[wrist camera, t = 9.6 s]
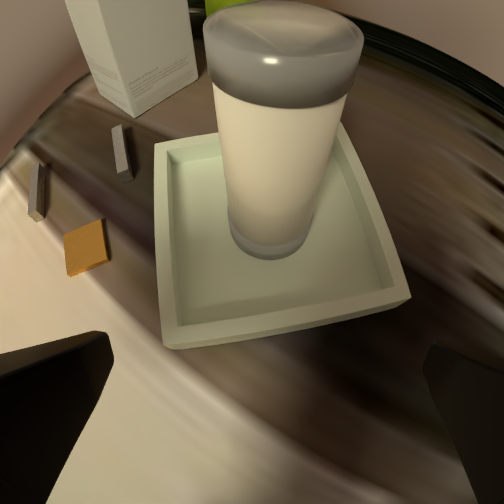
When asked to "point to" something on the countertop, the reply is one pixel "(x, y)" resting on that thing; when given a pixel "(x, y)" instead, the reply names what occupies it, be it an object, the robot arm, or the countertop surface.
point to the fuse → (277, 113)
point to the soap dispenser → (220, 5)
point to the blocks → (91, 235)
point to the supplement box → (136, 49)
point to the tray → (265, 271)
